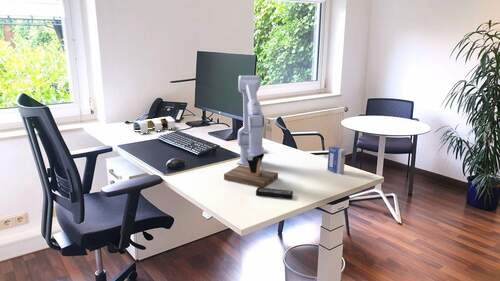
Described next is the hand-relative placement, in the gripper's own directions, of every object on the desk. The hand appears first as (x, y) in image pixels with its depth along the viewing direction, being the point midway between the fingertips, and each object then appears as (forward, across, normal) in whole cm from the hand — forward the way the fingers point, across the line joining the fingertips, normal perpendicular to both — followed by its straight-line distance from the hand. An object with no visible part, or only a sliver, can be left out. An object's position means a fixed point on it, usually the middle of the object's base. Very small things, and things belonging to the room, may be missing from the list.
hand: (255, 171), depth 171 cm
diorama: (+4, -58, -93) cm, 109 cm away
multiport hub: (+5, +13, +13) cm, 19 cm away
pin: (+3, 0, 0) cm, 3 cm away
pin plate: (+4, 0, -2) cm, 4 cm away
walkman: (+4, -25, +32) cm, 41 cm away
